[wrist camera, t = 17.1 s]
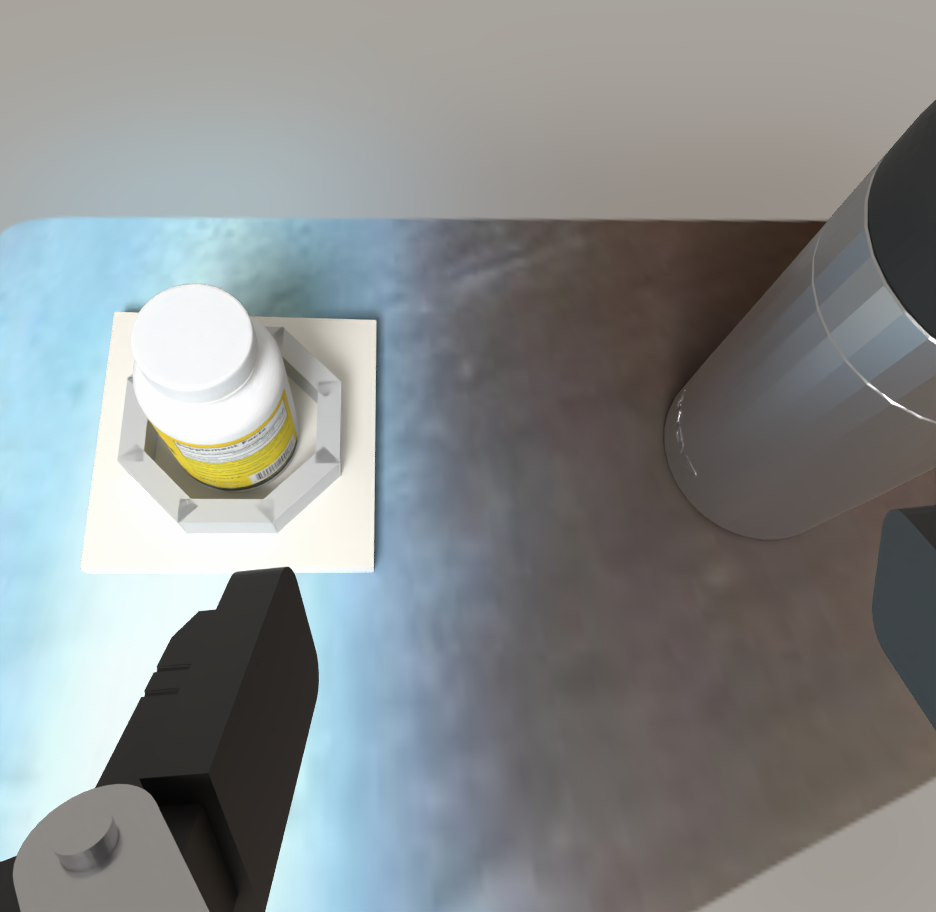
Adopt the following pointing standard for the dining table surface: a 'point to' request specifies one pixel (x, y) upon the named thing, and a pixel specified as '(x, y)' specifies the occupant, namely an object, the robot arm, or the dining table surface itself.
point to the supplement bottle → (214, 387)
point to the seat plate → (254, 512)
